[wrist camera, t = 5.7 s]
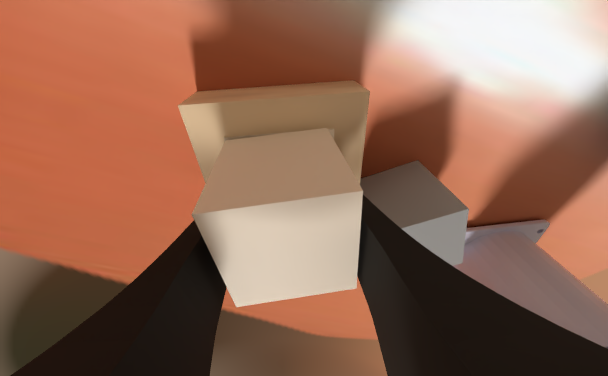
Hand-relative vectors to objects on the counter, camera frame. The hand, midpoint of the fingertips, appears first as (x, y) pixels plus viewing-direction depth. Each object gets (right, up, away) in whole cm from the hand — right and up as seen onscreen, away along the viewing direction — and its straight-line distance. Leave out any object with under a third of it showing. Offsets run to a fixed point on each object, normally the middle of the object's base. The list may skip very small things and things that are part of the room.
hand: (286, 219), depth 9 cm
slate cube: (+7, +1, +7) cm, 10 cm away
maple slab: (-1, +3, +5) cm, 6 cm away
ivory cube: (0, +2, +2) cm, 3 cm away
